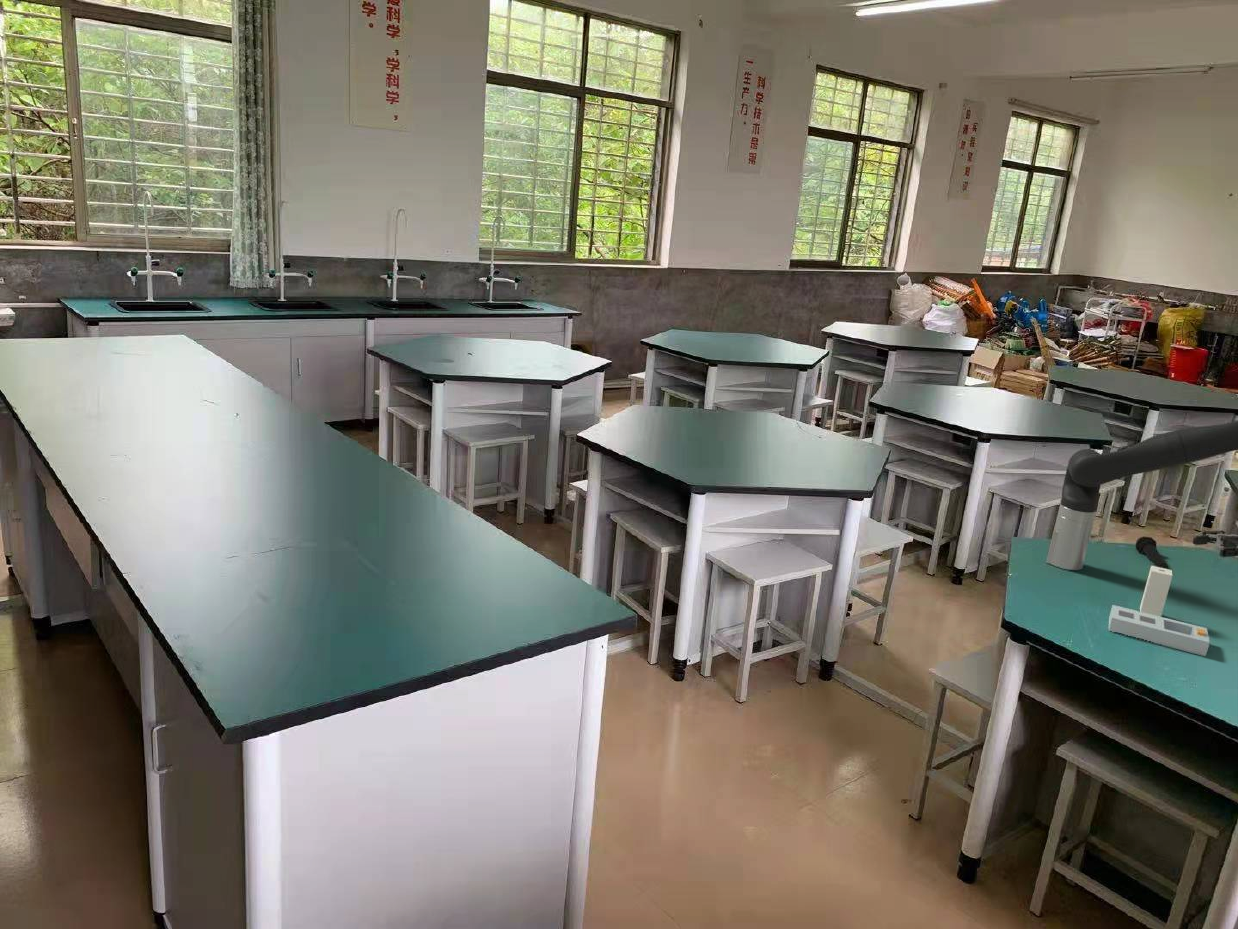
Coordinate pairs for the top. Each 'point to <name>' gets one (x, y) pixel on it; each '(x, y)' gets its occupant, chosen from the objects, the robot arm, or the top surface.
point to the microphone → (1150, 551)
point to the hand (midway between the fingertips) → (1207, 546)
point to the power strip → (1159, 630)
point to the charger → (1156, 591)
